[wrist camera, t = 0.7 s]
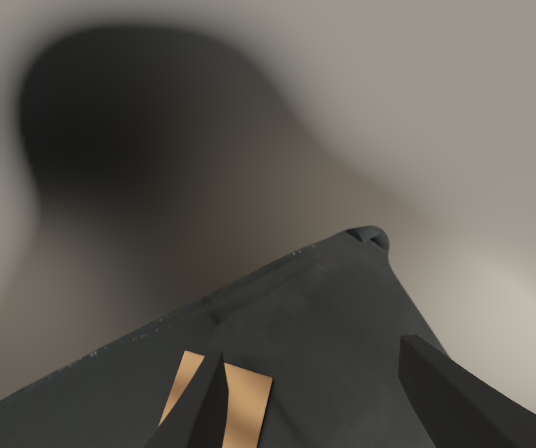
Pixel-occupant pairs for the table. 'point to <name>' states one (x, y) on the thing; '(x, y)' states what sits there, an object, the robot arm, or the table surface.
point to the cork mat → (230, 400)
